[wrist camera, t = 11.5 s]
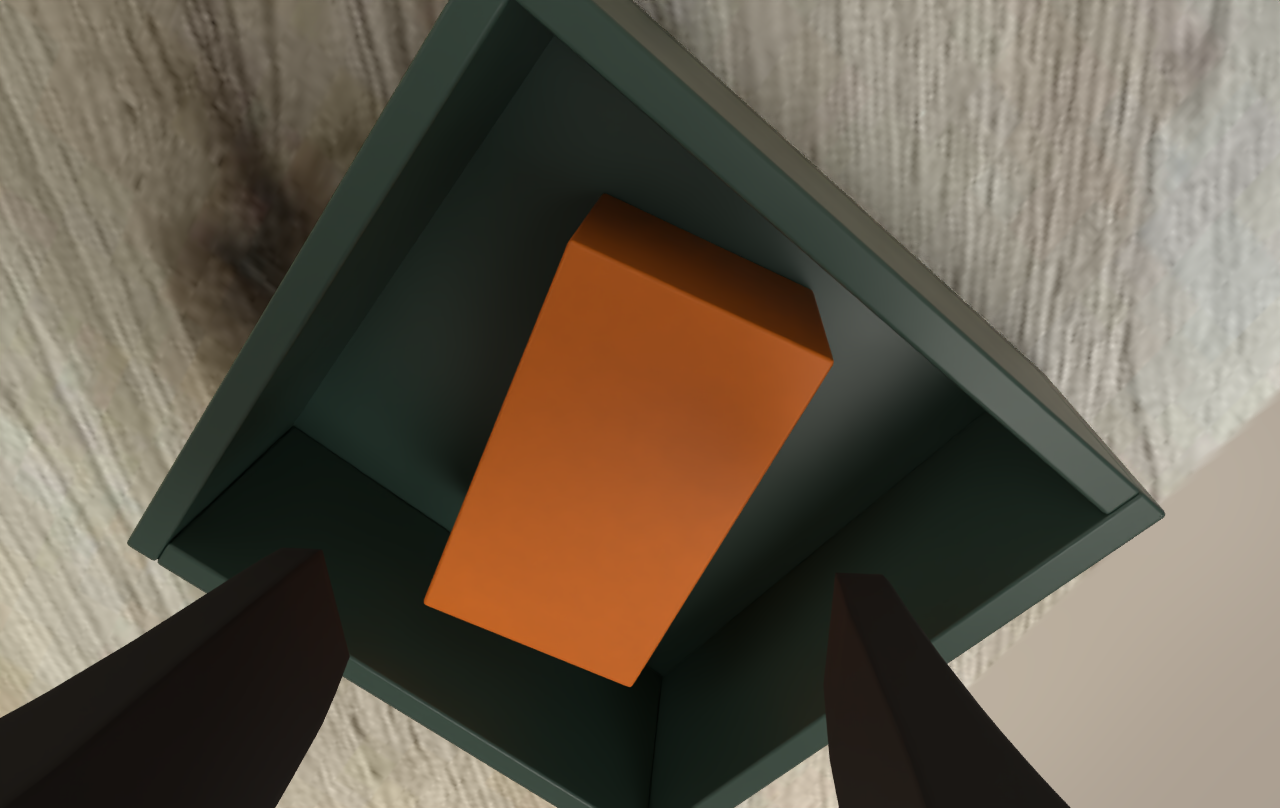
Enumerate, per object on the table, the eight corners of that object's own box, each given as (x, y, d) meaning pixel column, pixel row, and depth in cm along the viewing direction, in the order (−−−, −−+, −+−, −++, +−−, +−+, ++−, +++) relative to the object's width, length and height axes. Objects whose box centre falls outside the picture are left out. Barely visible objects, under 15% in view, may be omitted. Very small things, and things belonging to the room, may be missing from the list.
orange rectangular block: (814, 290, 15) (836, 361, 12) (647, 577, 19) (631, 689, 16) (602, 190, 15) (568, 238, 12) (473, 504, 18) (421, 604, 15)
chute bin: (1046, 375, 16) (1169, 516, 11) (667, 684, 21) (650, 866, 16) (574, -53, 13) (497, -86, 9) (271, 416, 18) (124, 545, 14)
